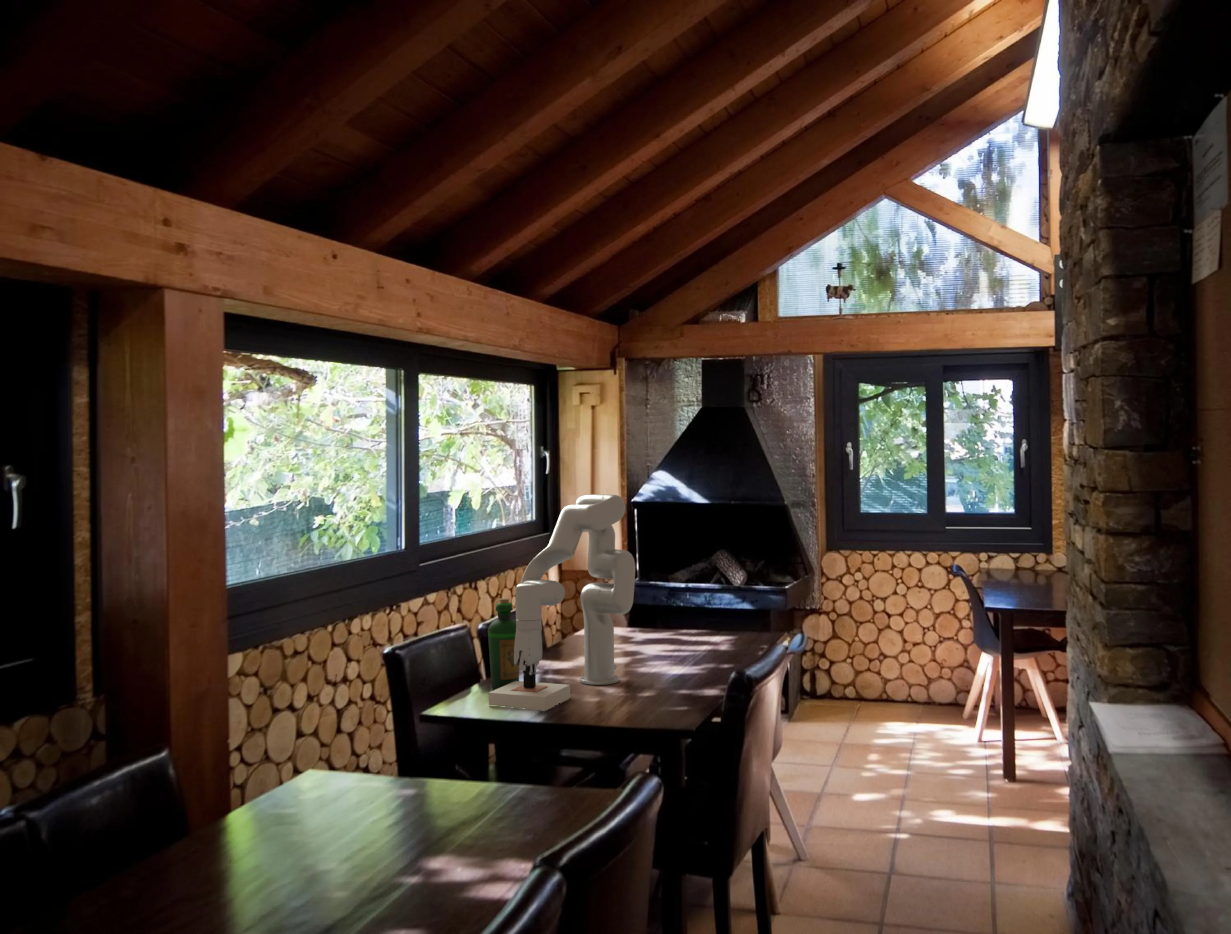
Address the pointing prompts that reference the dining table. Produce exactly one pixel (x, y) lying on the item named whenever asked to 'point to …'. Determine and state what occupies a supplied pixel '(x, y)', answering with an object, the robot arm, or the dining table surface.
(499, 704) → the panel
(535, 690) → the button
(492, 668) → the bottle
